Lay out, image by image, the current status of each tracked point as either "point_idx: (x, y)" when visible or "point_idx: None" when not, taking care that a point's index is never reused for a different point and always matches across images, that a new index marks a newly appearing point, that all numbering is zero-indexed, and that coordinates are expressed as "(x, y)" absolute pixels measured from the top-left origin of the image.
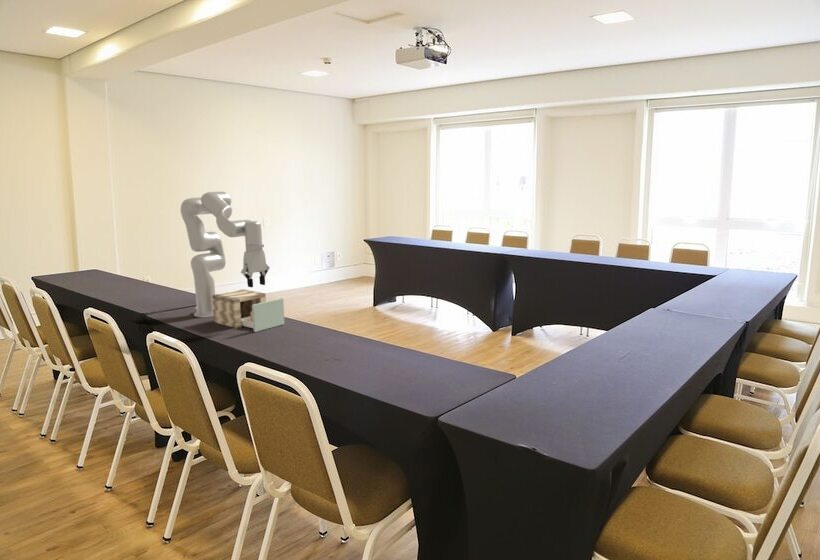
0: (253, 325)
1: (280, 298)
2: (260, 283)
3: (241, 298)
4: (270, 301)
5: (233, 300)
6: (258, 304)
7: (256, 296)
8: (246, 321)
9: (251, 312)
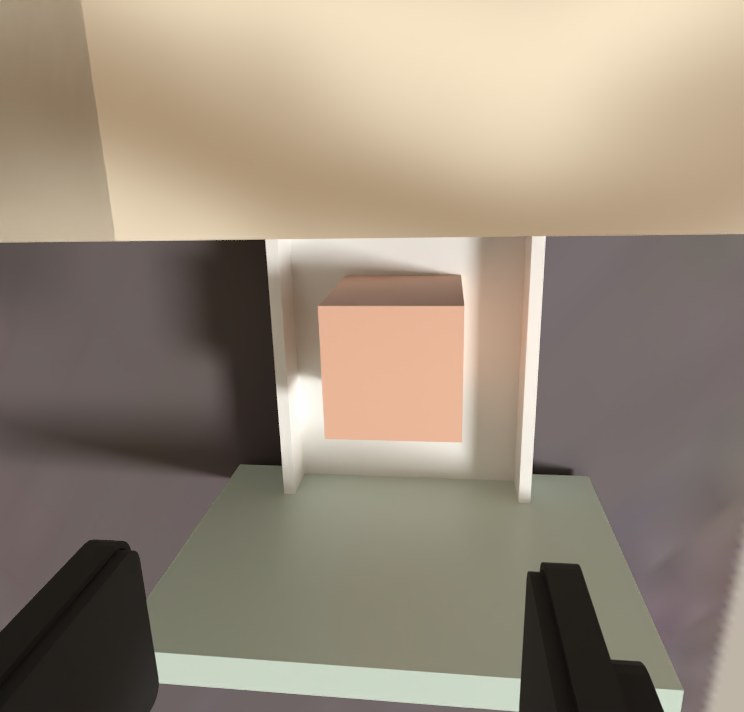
0: (220, 496)
1: (657, 690)
2: (529, 612)
3: (159, 239)
4: (416, 702)
5: (1, 219)
6: (201, 681)
7: (526, 235)
8: (269, 295)
9: (320, 326)
